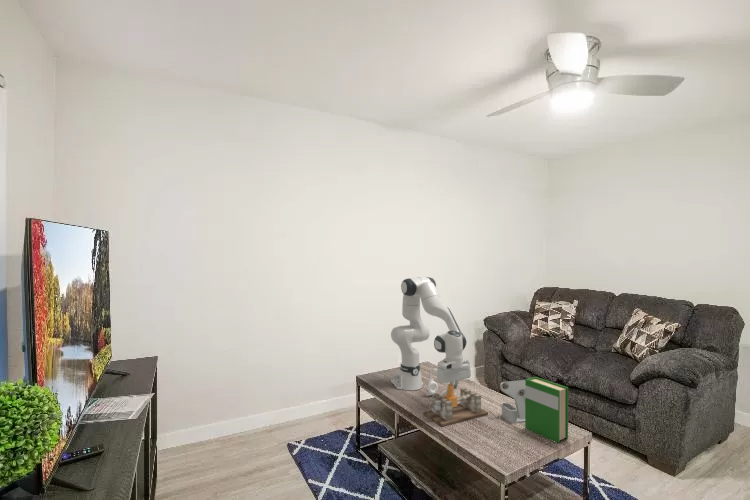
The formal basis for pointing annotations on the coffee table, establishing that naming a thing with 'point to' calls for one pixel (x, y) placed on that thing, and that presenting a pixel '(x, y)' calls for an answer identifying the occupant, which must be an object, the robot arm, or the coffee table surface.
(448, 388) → the sleeve
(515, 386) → the phone holder
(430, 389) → the headset
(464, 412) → the cord comb board
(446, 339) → the robot arm
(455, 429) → the coffee table surface
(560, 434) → the hardback book
